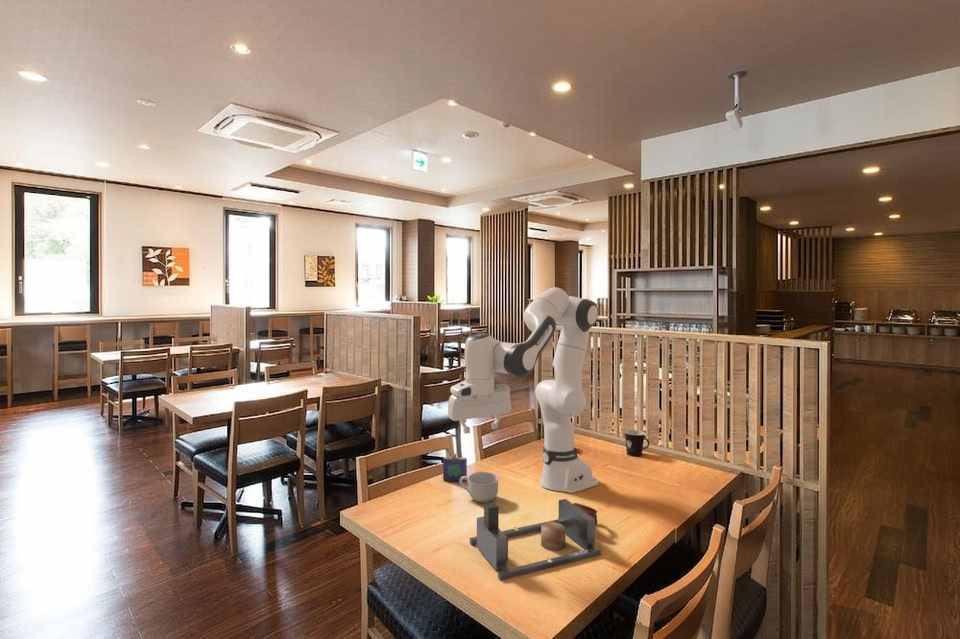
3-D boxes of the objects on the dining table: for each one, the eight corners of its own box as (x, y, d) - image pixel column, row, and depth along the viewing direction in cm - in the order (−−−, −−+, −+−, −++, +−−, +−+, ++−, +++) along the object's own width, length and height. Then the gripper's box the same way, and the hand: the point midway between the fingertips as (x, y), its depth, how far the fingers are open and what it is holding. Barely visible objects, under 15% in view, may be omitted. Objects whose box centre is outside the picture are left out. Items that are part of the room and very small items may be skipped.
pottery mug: (558, 525, 156) (566, 499, 159) (583, 535, 159) (590, 509, 162) (580, 532, 146) (587, 504, 148) (605, 543, 148) (612, 515, 151)
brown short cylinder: (557, 536, 149) (557, 520, 148) (570, 547, 142) (570, 530, 142) (536, 541, 146) (536, 524, 145) (549, 552, 139) (549, 535, 139)
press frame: (560, 523, 157) (560, 495, 157) (601, 555, 138) (601, 523, 137) (469, 542, 145) (469, 512, 144) (500, 581, 126) (500, 546, 125)
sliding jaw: (488, 544, 143) (488, 495, 142) (508, 567, 131) (508, 513, 130) (476, 546, 141) (476, 497, 141) (496, 570, 129) (496, 516, 129)
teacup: (503, 496, 178) (503, 474, 178) (490, 508, 168) (491, 484, 168) (468, 489, 184) (468, 468, 183) (454, 500, 174) (454, 478, 174)
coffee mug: (621, 451, 228) (621, 430, 227) (639, 450, 229) (639, 429, 228) (631, 460, 216) (632, 437, 216) (650, 459, 217) (651, 436, 217)
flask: (467, 479, 194) (467, 452, 193) (466, 482, 191) (466, 455, 190) (443, 479, 194) (443, 452, 194) (442, 482, 191) (442, 454, 191)
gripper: (505, 381, 159) (506, 423, 160) (445, 388, 151) (446, 432, 152) (514, 384, 154) (515, 428, 154) (452, 392, 145) (454, 438, 146)
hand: (480, 430), depth 153 cm, fingers open, 8 cm apart
